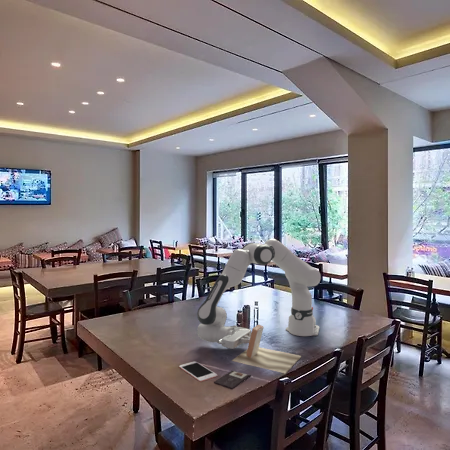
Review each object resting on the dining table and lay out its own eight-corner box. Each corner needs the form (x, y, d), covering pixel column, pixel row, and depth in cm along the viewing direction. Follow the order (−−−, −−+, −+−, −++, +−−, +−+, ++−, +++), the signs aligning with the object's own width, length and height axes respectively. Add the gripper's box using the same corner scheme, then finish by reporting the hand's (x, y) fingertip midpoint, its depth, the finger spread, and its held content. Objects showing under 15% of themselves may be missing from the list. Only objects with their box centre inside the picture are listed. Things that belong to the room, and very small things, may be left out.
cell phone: (200, 382, 148) (200, 380, 148) (178, 367, 163) (178, 365, 162) (217, 377, 153) (217, 374, 153) (195, 362, 168) (195, 360, 168)
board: (251, 346, 187) (251, 345, 187) (301, 357, 174) (301, 355, 174) (231, 362, 168) (231, 360, 168) (285, 374, 155) (285, 373, 155)
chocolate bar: (213, 381, 147) (238, 366, 162) (213, 384, 147) (238, 368, 162) (232, 387, 142) (255, 371, 157) (232, 390, 142) (255, 373, 157)
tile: (252, 350, 179) (258, 324, 176) (257, 353, 177) (263, 326, 175) (246, 355, 172) (252, 328, 170) (251, 358, 171) (257, 330, 169)
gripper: (215, 335, 173) (241, 341, 166) (236, 324, 190) (260, 328, 183) (215, 349, 173) (241, 354, 166) (236, 336, 191) (260, 340, 184)
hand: (251, 340), depth 175 cm, fingers closed
